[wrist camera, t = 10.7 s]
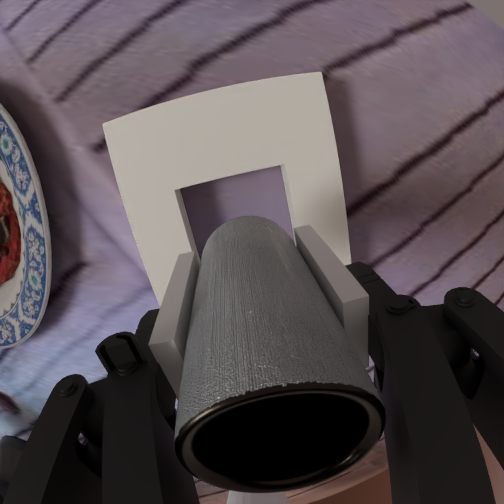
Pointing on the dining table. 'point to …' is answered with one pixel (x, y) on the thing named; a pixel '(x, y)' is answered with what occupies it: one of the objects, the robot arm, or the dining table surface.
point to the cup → (256, 498)
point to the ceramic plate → (21, 239)
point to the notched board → (227, 161)
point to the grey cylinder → (269, 371)
